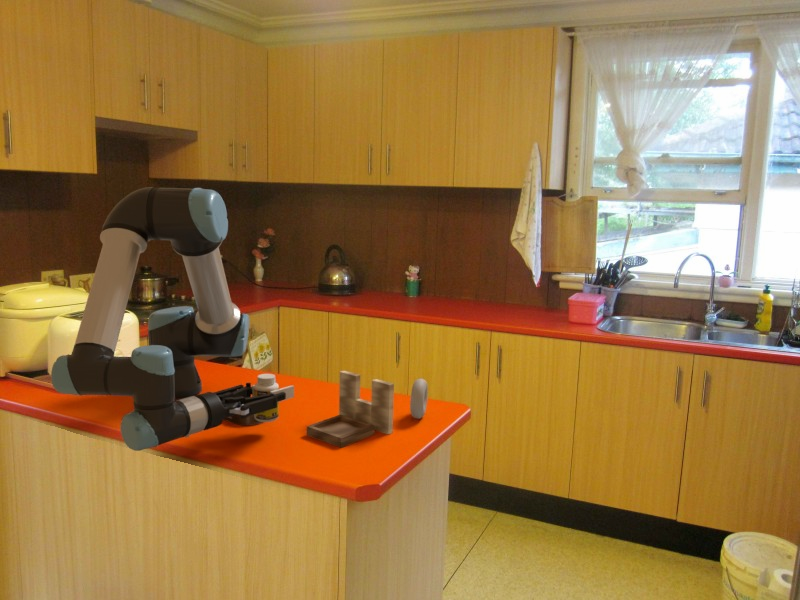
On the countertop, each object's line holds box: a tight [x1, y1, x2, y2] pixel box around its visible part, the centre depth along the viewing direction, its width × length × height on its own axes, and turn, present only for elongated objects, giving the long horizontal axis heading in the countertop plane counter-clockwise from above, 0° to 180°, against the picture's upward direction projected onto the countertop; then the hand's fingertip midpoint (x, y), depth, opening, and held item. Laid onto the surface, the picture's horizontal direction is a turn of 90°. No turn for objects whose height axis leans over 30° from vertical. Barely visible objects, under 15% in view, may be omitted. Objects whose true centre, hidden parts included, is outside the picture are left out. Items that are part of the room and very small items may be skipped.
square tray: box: [306, 414, 375, 448], centre depth 152 cm, size 11×11×2 cm
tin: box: [223, 414, 264, 426], centre depth 162 cm, size 15×3×8 cm
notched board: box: [338, 370, 395, 435], centre depth 157 cm, size 16×2×12 cm, turn 51°
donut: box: [409, 378, 429, 419], centre depth 164 cm, size 10×4×10 cm, turn 169°
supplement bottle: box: [253, 373, 280, 423], centre depth 150 cm, size 6×6×10 cm
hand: (283, 388), depth 153 cm, fingers closed on supplement bottle, 6 cm apart
